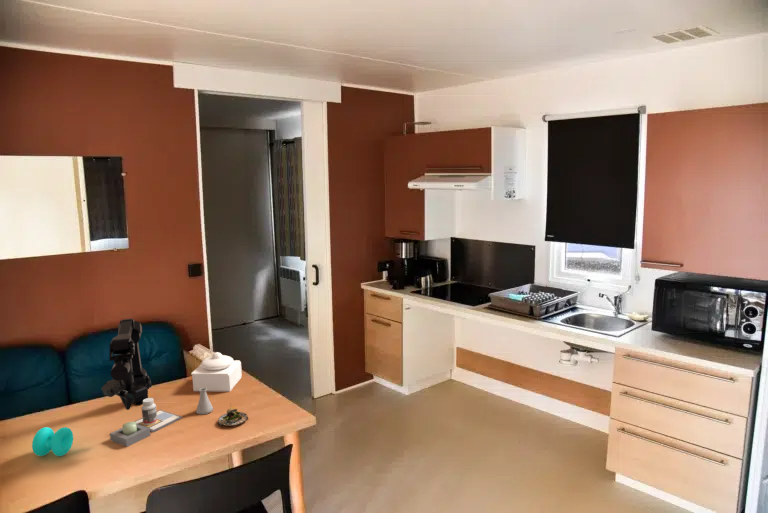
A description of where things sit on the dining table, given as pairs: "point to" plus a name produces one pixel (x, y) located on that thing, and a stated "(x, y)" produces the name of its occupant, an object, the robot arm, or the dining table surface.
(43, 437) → the donuts
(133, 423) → the button
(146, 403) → the pill bottle
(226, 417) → the plate of food
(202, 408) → the flask
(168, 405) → the dining table surface
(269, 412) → the dining table surface
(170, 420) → the colouring board
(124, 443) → the button housing
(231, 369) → the butter dish
